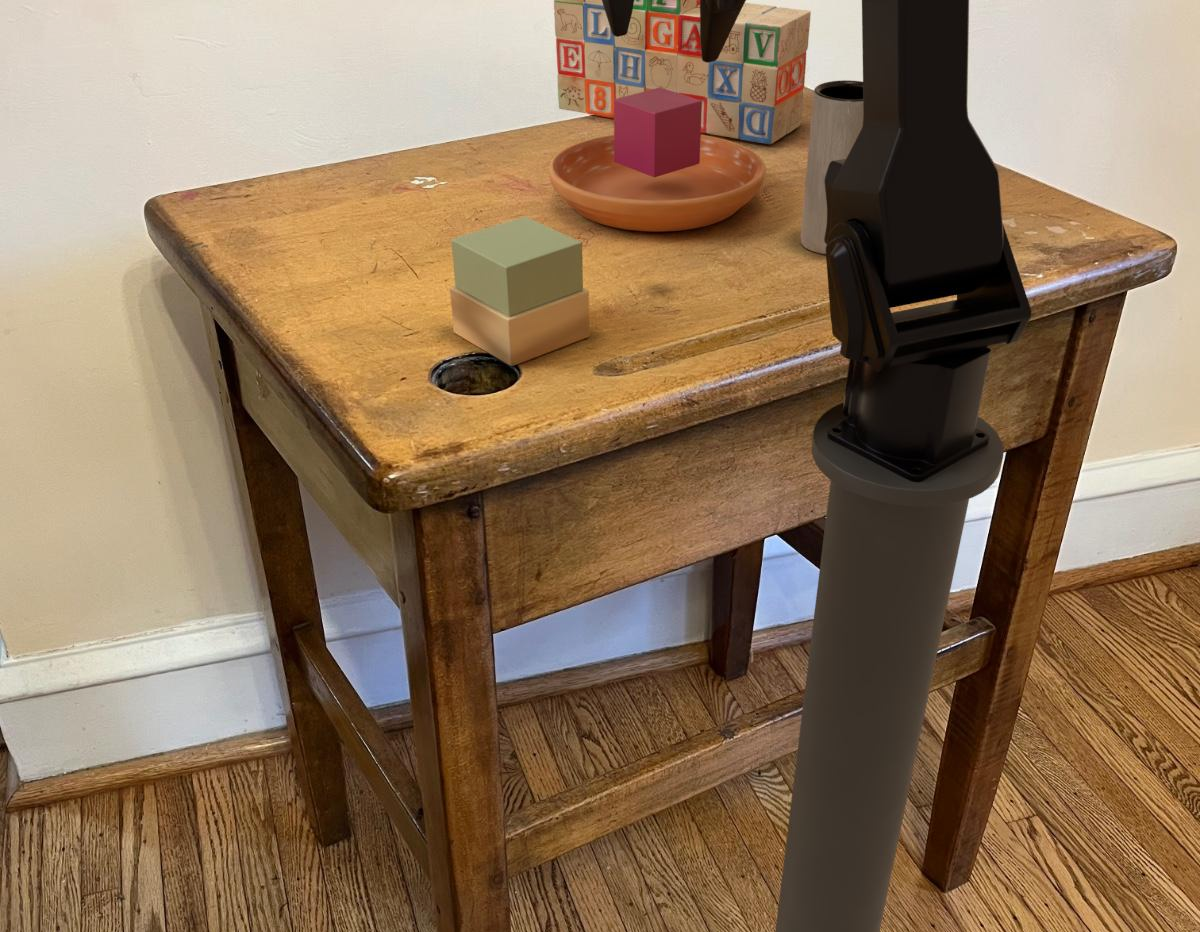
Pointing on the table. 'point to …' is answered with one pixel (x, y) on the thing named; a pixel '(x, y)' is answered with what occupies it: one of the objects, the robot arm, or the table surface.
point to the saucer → (657, 186)
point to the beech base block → (521, 326)
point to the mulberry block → (657, 131)
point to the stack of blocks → (687, 63)
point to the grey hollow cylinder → (828, 150)
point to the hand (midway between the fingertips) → (663, 48)
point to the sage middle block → (517, 265)
